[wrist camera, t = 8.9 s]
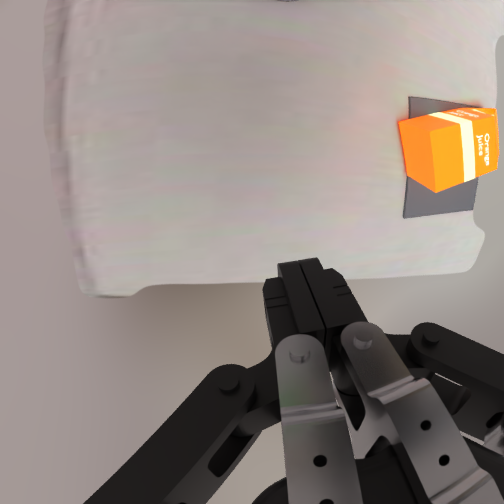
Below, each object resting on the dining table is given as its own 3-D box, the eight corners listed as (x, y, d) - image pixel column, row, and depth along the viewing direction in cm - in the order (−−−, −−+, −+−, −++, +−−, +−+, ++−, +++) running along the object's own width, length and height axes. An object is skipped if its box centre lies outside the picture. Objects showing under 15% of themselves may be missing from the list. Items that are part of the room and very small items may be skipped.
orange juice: (436, 193, 33) (514, 163, 31) (429, 130, 28) (512, 112, 26) (406, 175, 39) (484, 149, 37) (397, 121, 35) (480, 103, 33)
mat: (408, 96, 33) (410, 96, 33) (481, 108, 34) (483, 109, 33) (402, 217, 44) (404, 218, 43) (471, 208, 44) (472, 209, 44)
